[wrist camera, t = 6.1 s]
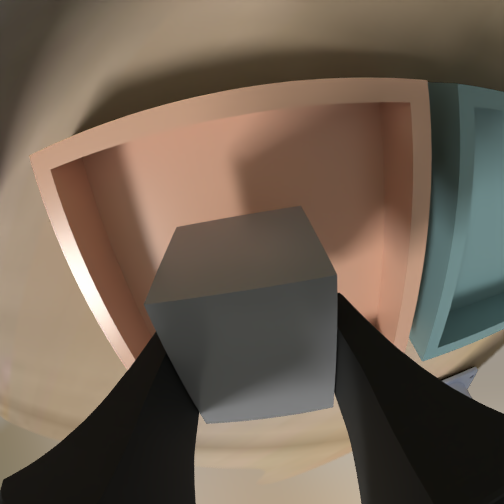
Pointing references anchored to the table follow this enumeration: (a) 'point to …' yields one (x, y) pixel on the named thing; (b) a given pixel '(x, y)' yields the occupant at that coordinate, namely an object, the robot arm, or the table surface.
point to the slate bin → (463, 222)
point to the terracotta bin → (249, 190)
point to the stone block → (249, 315)
